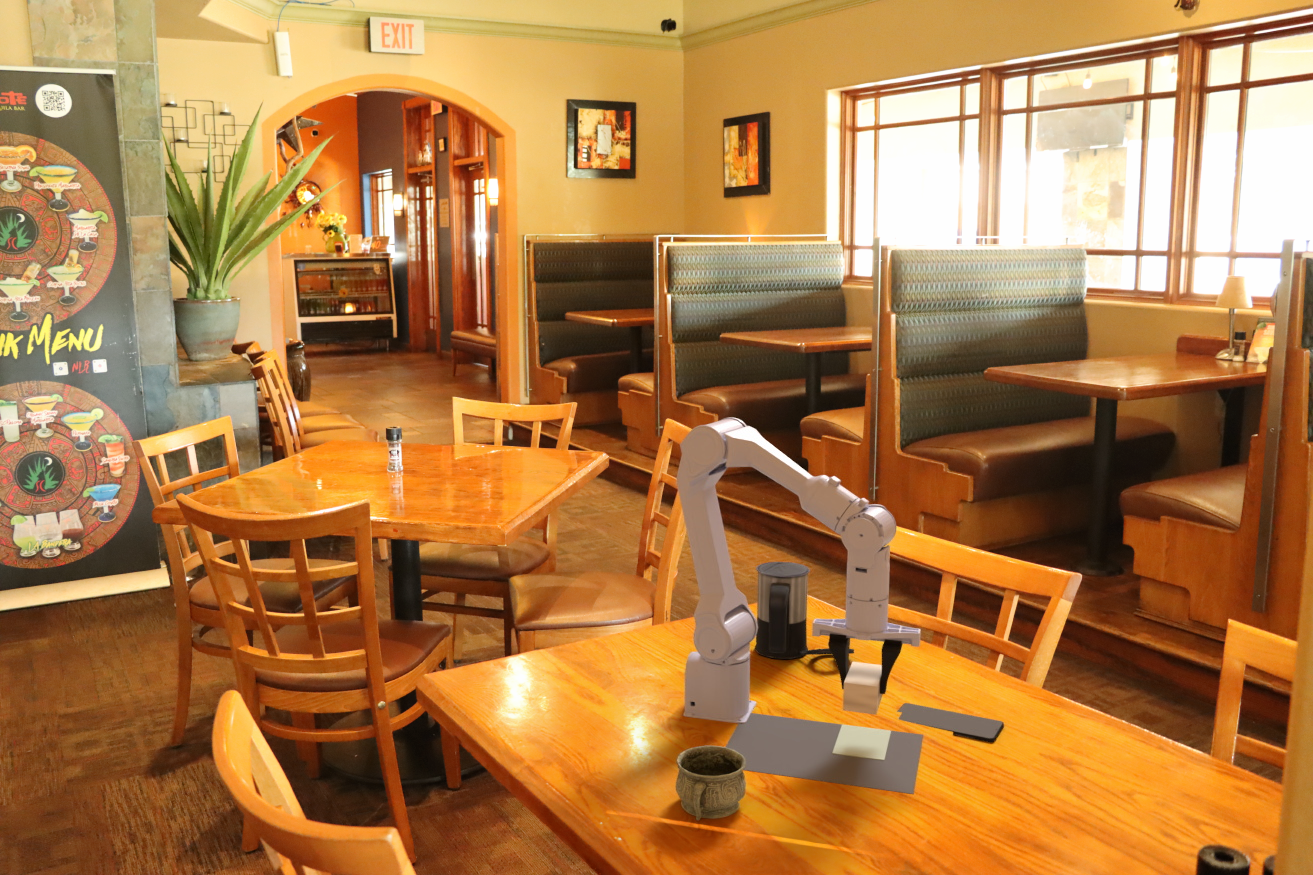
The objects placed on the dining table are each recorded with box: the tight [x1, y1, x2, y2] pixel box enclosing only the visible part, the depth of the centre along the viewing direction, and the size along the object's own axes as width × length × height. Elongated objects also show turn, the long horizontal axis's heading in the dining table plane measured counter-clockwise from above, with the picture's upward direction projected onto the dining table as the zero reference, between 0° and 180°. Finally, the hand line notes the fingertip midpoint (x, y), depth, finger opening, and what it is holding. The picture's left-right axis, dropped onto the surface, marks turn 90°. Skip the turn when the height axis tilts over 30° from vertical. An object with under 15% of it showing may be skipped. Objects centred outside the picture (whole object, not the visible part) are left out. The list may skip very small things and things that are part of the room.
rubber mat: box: [724, 712, 924, 795], centre depth 151 cm, size 26×18×1 cm
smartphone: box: [896, 702, 1005, 744], centre depth 161 cm, size 7×1×15 cm
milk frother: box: [754, 561, 855, 660], centre depth 186 cm, size 14×16×15 cm
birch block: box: [842, 661, 884, 716], centre depth 152 cm, size 8×4×4 cm, turn 162°
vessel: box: [674, 745, 747, 821], centre depth 136 cm, size 12×9×6 cm
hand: (864, 689), depth 152 cm, fingers closed on birch block, 4 cm apart
